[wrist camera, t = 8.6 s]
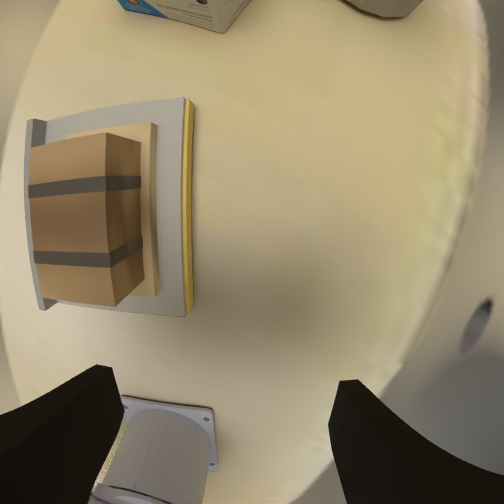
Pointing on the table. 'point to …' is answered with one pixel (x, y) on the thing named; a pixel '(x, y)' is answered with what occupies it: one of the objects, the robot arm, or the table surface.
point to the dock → (167, 195)
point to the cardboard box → (96, 215)
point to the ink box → (191, 11)
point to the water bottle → (387, 7)
